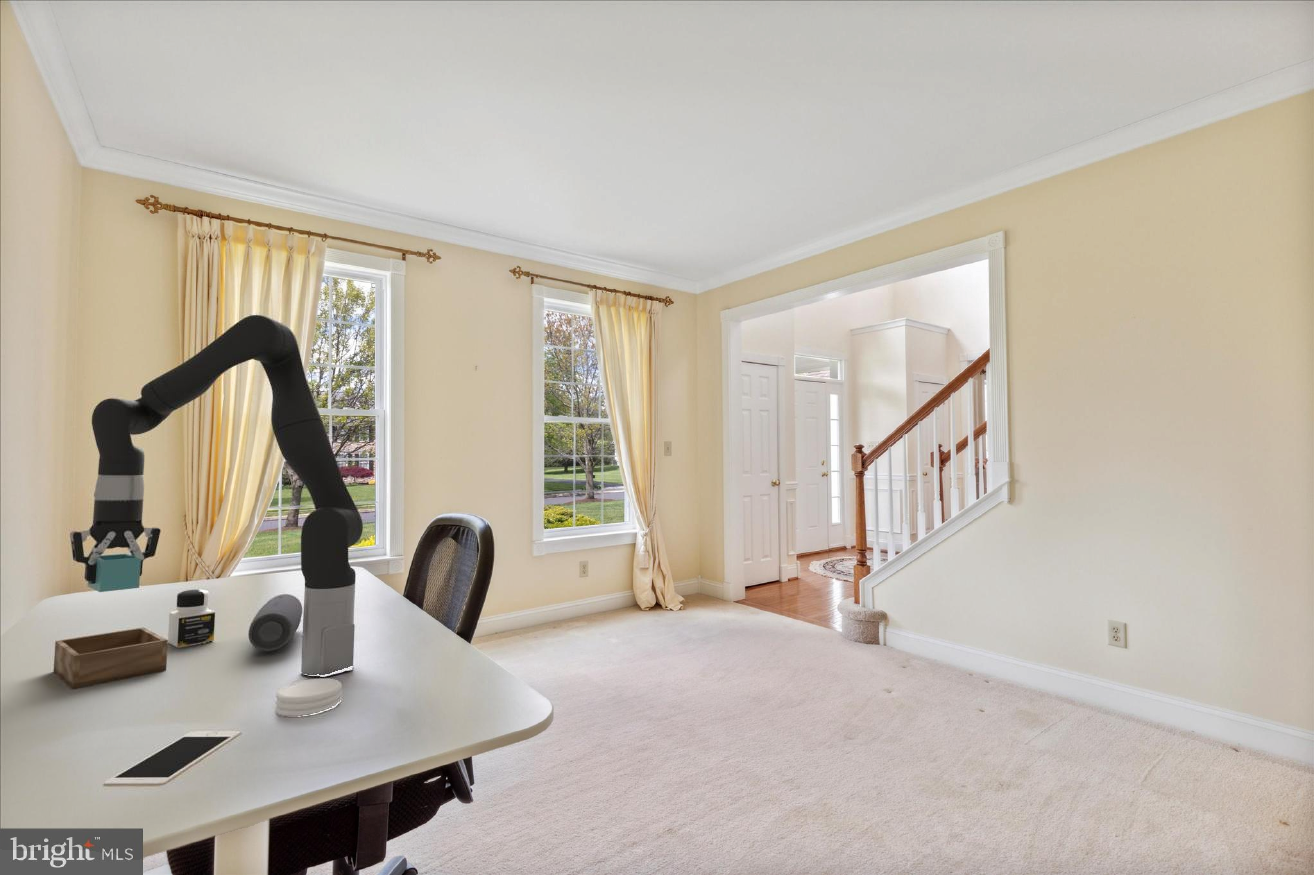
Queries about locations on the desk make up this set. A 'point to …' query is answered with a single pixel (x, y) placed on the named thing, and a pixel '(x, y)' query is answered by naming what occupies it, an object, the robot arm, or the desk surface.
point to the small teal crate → (117, 572)
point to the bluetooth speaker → (275, 622)
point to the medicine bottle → (191, 619)
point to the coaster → (308, 697)
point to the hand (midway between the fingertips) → (113, 580)
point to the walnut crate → (109, 657)
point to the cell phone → (173, 758)
